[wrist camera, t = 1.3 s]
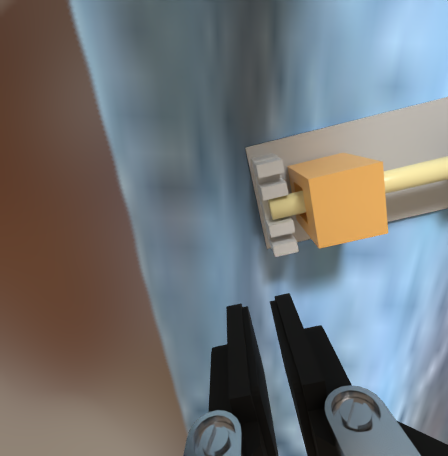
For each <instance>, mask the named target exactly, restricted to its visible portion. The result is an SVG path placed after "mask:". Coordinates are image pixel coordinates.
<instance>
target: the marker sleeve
mask: <svg viewBox="0 0 448 456" xmlns="http://www.w3.org/2000/svg"><path fill="white" fill-rule="evenodd" d="M287 168H288V173H289V179H290V185H291V191H292V193H294V192H299V191H303V196H304V202H305V208H306V212H305V213H301V214H297V215H296V219H297V221H298V223H299V224H300V225H301V226H302V228H303V229H304V230H305V231H306V233H307V234H308V235H309V237H310V238H311V239H312V240H313V242H314V243H315V244H316V245H317V247H318V248H324V247H328V246H333V245H337V244H342V243H346V242H351V241H355V240H360V239H364V238H369V237H373V236H378V235H382V234H387V233H388V223H387V210H386V196H385V183H384V169H383V161H378V160H374V159H369V158H365V157H361V156H356V155H352V154H347V153H339V154H335V155H331V156H327V157H323V158H319V159H315V160H311V161H306V162H302V163H298V164H294V165H290V166H287Z"/></svg>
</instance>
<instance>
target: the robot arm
mask: <svg viewBox="0 0 448 456" xmlns="http://www.w3.org/2000/svg"><path fill="white" fill-rule="evenodd" d="M270 305H271V309H272V313H273V318H274V322H275V327H276V331H277V336H278V340H279V345H280V349H281V354H282V358H283V362H284V367H285V371H286V374H287V378H288V382H289V386H290V390H291V394H292V398H293V401H294V405H295V409H296V413H297V417H298V421H299V425H300V428H301V432H302V436H303V440H304V444H305V448H306V452H307V455H308V456H448V445H447V444H445V443H443V442H441V441H438V440H436V439H434V438H432V437H430V436H428V435H426V434H424V433H422V432H419V431H417V430H415V429H413V428H411V427H409V426H407V425H405V424H403V423H400V422H398V421H396V419H395V418H394V417H393V415H392V414H391V412H390V411H389V409H388V408H387V407H386V405H385V404H384V402H383V401H382V400H381V399H380V398H379V397H378V396H377V395H376V394H374V393H373V392H371V391H370V390H368V389H365V388H362V387H360V386H352V385H351V383H350V381H349V379H348V377H347V375H346V373H345V371H344V369H343V367H342V365H341V363H340V361H339V359H338V357H337V355H336V353H335V351H334V349H333V347H332V345H331V343H330V341H329V339H328V337H327V335H326V333H325V331H324V329H323V327H322V326H321V325H320V326H315V327H310V328H305V329H304V328H303V326H302V323H301V321H300V318H299V316H298V313H297V311H296V308H295V306H294V303H293V301H292V298H291V296H290V294H289V293H288V294H283V295H279V296H275V301H270ZM183 456H278V450H277V445H276V439H275V433H274V427H273V421H272V415H271V409H270V404H269V398H268V392H267V386H266V380H265V374H264V369H263V365H262V361H261V357H260V353H259V349H258V345H257V341H256V337H255V333H254V329H253V325H252V321H251V317H250V313H249V309H248V306H247V307H242V304H237V305H232V306H227V345H222V346H217V347H213V348H212V352H211V373H210V394H209V412H208V413H207V414H205V415H203V416H201V417H200V418H199V419H198V420H197V421H196V422H195V423H194V424H193V426H192V427H191V429H190V431H189V433H188V436H187V440H186V445H185V450H184V455H183Z"/></svg>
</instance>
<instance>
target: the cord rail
mask: <svg viewBox="0 0 448 456" xmlns="http://www.w3.org/2000/svg"><path fill="white" fill-rule="evenodd" d="M245 148H246V153H247V158H248V163H249V167H250V172H251V177H252V181H253V186H254V191H255V195H256V200H257V205H258V209H259V214H260V219H261V223H262V228H263V233H264V237H265V242H266V247H267V249H269V248H272V250H273V253H274V255H275V257H278V256H283V255H287V254H292V253H296V252H299V250H298V245H297V242H300V241H305V240H309V239H311V238H310V237H309V235H308V234H307V233H306V231H305V230H304V229H303V228H302V226H301V225H300V224H299V223H298V221H297V219H296V215H297V214H301V213H305V212H306V208H305V202H304V196H303V191H299V192H294V193H292V191H291V185H290V179H289V173H288V168H287V166H290V165H294V164H298V163H302V162H306V161H311V160H315V159H319V158H323V157H327V156H331V155H335V154H339V153H347V154H352V155H356V156H361V157H365V158H369V159H374V160H378V161H383V169H384V183H385V196H386V210H387V222H389V221H394V220H398V219H402V218H407V217H411V216H416V215H420V214H425V213H429V212H433V211H438V210H442V209H447V208H448V97H445V98H441V99H437V100H433V101H429V102H425V103H421V104H417V105H413V106H409V107H405V108H401V109H397V110H393V111H389V112H385V113H381V114H377V115H373V116H369V117H365V118H361V119H357V120H353V121H349V122H345V123H341V124H337V125H333V126H329V127H325V128H321V129H317V130H313V131H309V132H305V133H301V134H297V135H293V136H289V137H285V138H281V139H277V140H273V141H269V142H265V143H261V144H257V145H253V146H249V147H245Z"/></svg>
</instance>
